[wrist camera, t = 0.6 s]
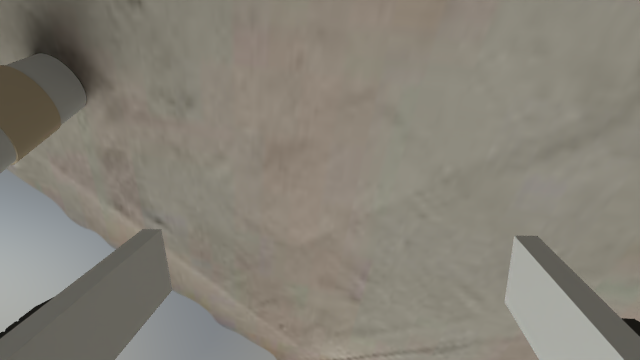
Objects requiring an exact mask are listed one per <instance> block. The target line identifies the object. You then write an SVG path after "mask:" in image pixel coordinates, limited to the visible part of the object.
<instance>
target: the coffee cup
mask: <svg viewBox="0 0 640 360" xmlns="http://www.w3.org/2000/svg"><path fill="white" fill-rule="evenodd" d="M85 105H86V94H85V91H84V88H83V86H82V84H81V83H80V81H79V80H78V78H77V77H76V76H75V74H74V73H73V72H72V71H71V70H70V69H69V68H68V67H67V66H66V65H65V64H63V63H62V62H61V61H59V60H58V59H56V58H54V57H52V56H50V55H47V54H43V53H39V54H35V55H33V56H30V57H27V58H24V59H22V60H19V61H16V62H13V63H11V64H8V65H5V66H4V65H1V66H0V173H1V172H3V171H4V170H5V169H6V168H8V167H9V166H10V165H14V164H15V163H17V162H18V161H19V160H20V159H22V158H23V157H24V156H25V155H27V154H28V153H29V152H30V151H32V150H33V149H34V148H35V147H37V146H38V145H39V144H40V143H42V142H43V141H44V140H45V139H47V138H48V137H49V136H50V135H52V134H53V133H54V132H55V131H57V130H58V129H59V128H60V126H61V125H62V124H63V123H64V122H66V121H67V120H68V119H69V118H71V117H72V116H73V115H74V114H76V113H77V112H78V111H79V110H81V109H82V108H83V107H84V106H85Z"/></svg>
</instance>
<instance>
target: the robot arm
mask: <svg viewBox="0 0 640 360" xmlns="http://www.w3.org/2000/svg"><path fill="white" fill-rule="evenodd" d="M171 291H172V285H171V279H170V274H169V269H168V263H167V258H166V252H165V247H164V241H163V236H162V231H161V229H142V230H141V231H140V232H139V233H137V234H136V235H135V236H133V237H132V238H131V239H129V240H128V241H127V242H126V243H124V244H123V245H122V246H120V247H119V248H118V249H116V250H115V251H114V252H112V253H111V254H110V255H109V256H108V257H106V258H105V259H103V260H102V261H101V262H99V263H98V264H97V265H96V266H94V267H93V268H92V269H91V270H89V271H88V272H86V273H85V274H84V275H83V276H81V277H80V278H79V279H77V280H76V281H75V282H74V283H72V284H71V285H70V286H68V287H67V288H66V289H64V290H63V291H62V292H60V293H59V294H58V295H57V296H55V297H53V298H51V299H49V300H47V301H45V302H44V303H42V304H40V305H38V306H36V307H34V308H33V309H32V310H31V311H29V312H28V313H26V314H25V315H24V316H23V317H21V318H20V319H19V321H18V322H17V321H16V322H14V323H13V324H12V325H10V326H9V327H8V328H6V330H5V332H1V333H0V360H115V359H116V358H117V356H118V355H119V354H120V353H121V352H122V350H123V349H124V348H125V347H126V345H127V344H128V343H129V342H130V341H131V339H132V338H133V337H134V336H135V335H136V333H137V332H138V331H139V330H140V328H141V327H142V326H143V325H144V324H145V322H146V321H147V320H148V319H149V318H150V316H151V315H152V314H153V313H154V312H155V310H156V309H157V308H158V307H159V305H160V304H161V303H162V302H163V301H164V299H165V298H166V297H167V296H168V295H169V293H170V292H171ZM505 304H506V305H507V307H508V309H509V310H510V312H511V314H512V315H513V317H514V319H515V320H516V322H517V324H518V325H519V327H520V329H521V330H522V332H523V334H524V335H525V337H526V339H527V340H528V342H529V344H530V345H531V347H532V349H533V350H534V352H535V354H536V355H537V357H538V359H539V360H640V322H639V321H637V320H635V319H623V318H620V317H619V316H618V315H617V314H616V313H615V312H614V311H613V310H612V309H611V308H610V307H609V306H608V305H607V304H606V303H605V302H604V301H603V300H602V299H601V298H600V297H599V296H598V295H597V294H596V293H595V292H594V291H593V290H592V289H591V288H590V287H589V286H588V285H587V284H586V283H585V282H584V281H583V280H582V279H581V278H580V277H579V276H578V275H577V274H576V273H575V272H573V271H572V270H571V269H570V268H569V267H568V266H567V265H566V264H565V263H564V262H563V261H562V260H561V259H560V258H559V257H558V256H557V255H556V254H555V253H554V252H553V251H552V250H551V249H550V248H549V247H548V246H547V245H546V244H545V243H544V242H543V241H542V240H541V239H540V238H539V237H538V236H514V242H513V249H512V255H511V262H510V269H509V276H508V283H507V290H506V296H505Z"/></svg>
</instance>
